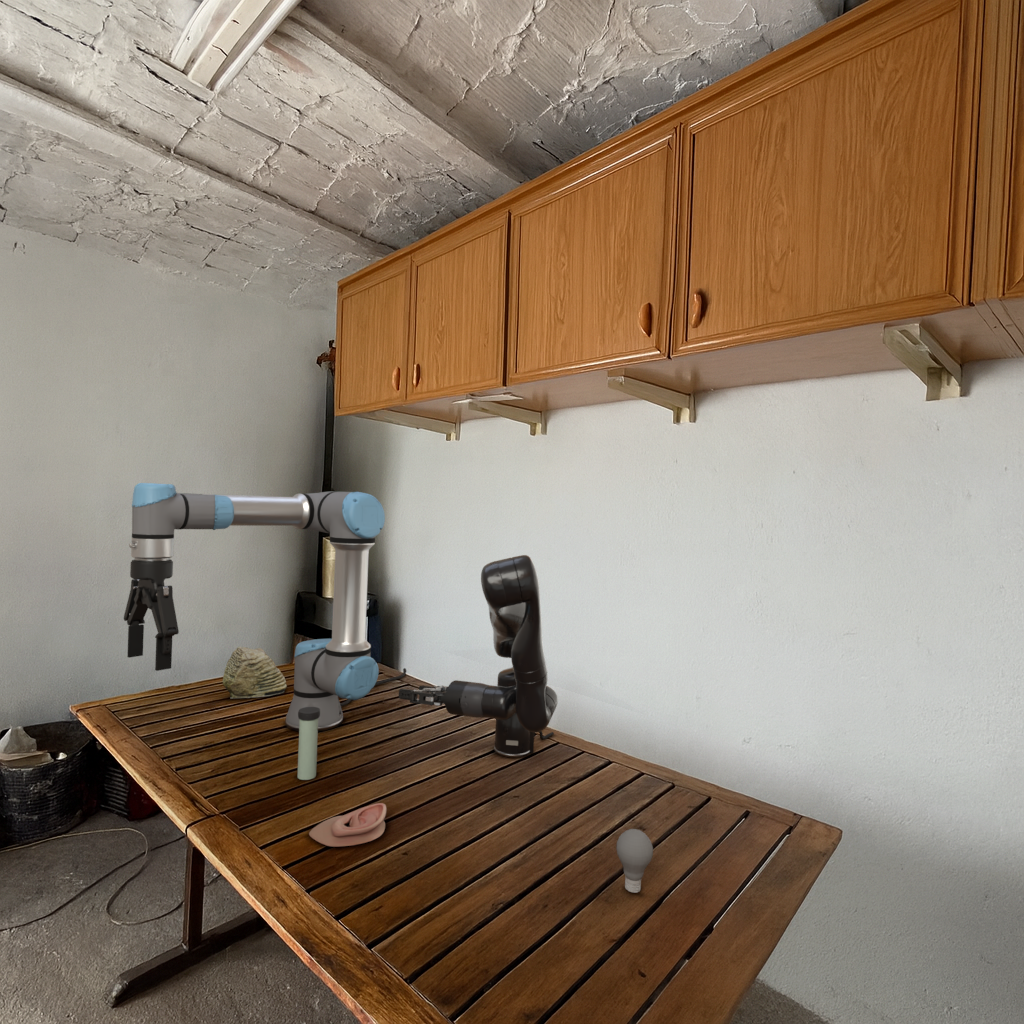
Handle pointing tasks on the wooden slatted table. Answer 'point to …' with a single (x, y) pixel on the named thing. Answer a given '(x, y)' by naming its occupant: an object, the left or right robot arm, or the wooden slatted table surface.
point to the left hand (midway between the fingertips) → (148, 662)
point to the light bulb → (634, 857)
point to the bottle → (307, 749)
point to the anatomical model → (352, 827)
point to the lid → (309, 713)
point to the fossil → (252, 674)
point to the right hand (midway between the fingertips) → (409, 691)
